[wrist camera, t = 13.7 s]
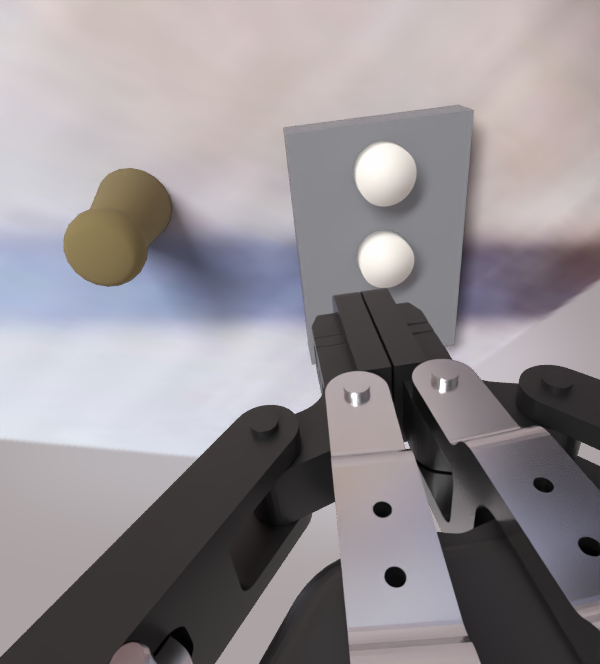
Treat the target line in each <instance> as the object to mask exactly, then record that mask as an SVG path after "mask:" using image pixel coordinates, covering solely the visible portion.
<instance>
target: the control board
mask: <svg viewBox="0 0 600 664" xmlns="http://www.w3.org/2000/svg"><path fill="white" fill-rule="evenodd" d="M473 113H474V110H472V109H469V108H466V107H463V106H460V105H455V106H447V107H439V108H431V109H424V110H416V111H408V112H401V113H393V114H385V115H377V116H370V117H362V118H354V119H346V120H339V121H331V122H323V123H315V124H308V125H300V126H292V127H285V128H283V129H284V138H285V147H286V155H287V164H288V173H289V181H290V190H291V199H292V207H293V216H294V225H295V233H296V242H297V251H298V259H299V268H300V277H301V285H302V294H303V303H304V311H305V320H306V329H307V337H308V346H309V352H310V357H311V362H312V365H313V364H316V360H315V352H314V343H313V335H312V325H313V323H314V320H315V318H316V316H317V315H324V314H331V313H333V303H332V296H333V295H339V294H346V293H353V292H359V293H360V291H366V290H373V289H380V288H379V287H375V286H373V285H371V284H370V283H368V282H367V281H366V279H365V278H364V276H363V274H362V272H361V270H360V268H359V266H358V263H357V250H358V248H359V245H360V244H361V242H362V241H363V240H364V239H365V238H366V237H367V236H368V235H369V234H371V233H373V232H375V231H378V230H392V231H395V232H397V233H398V234H400V235H401V236H402V237H403V238H404V240H405V241H406V242H407V244H408V245H409V246H410V247H411V249H412V251H413V254H414V266H413V269H412V271H411V273H410V275H409V276H408V277H407V278H406V279H405V280H404V281H403V282H402V283H400V284H398V285H396V286H394V287H390V288H387V289H388V290H389V292H390V294H391V296H392V298H393V299H394V301H395V303H396V304H399V303H406V302H409V303H410V304H412V305H414V306H415V307H417V308H418V309H420V310H422V312H423V314H424V315H425V317H426V318H427V320H428V323H430V325H431V326H432V328H433V330H434V332H435V333H436V334H437V336H438V337H439V339H440V341H441V342H442V344H443V345H444V346H447V345H454V341H455V329H456V317H457V305H458V293H459V281H460V269H461V257H462V245H463V233H464V221H465V209H466V197H467V185H468V173H469V161H470V149H471V137H472V125H473ZM377 141H391V142H394V143H396V144H398V145H399V146H400V147H402V148H403V149H405V150H406V151H407V152H408V153H409V154H410V155H411V156H412V158H413V159H414V161H415V164H416V170H417V175H416V181H415V184H414V186H413V188H412V190H411V192H410V193H409V194H408V196H407V197H406V198H404V199H403V200H402V201H400V202H399V203H397V204H395V205H392V206H386V207H382V206H376V205H373V204H371V203H370V202H368V201H367V200H366V199H365V198H364V197H363V196H362V194H361V193H360V191H359V190H358V189H357V187H356V185H355V183H354V179H353V167H354V163H355V161H356V158H357V157H358V155H359V154H360V152H361V151H362V150H363V149H364V148H365V147H367V146H368V145H370V144H372V143H374V142H377Z"/></svg>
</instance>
